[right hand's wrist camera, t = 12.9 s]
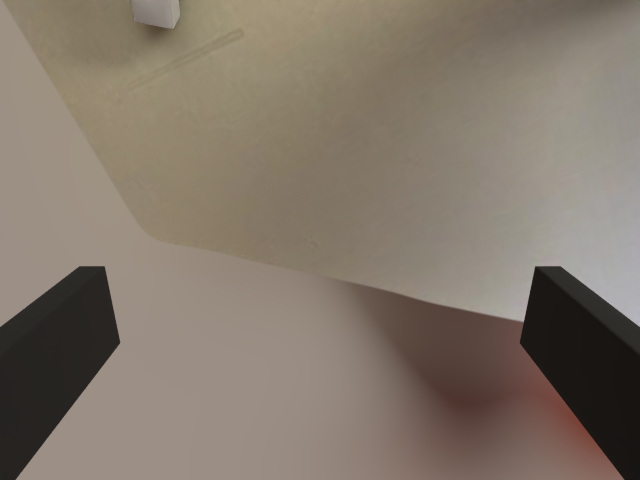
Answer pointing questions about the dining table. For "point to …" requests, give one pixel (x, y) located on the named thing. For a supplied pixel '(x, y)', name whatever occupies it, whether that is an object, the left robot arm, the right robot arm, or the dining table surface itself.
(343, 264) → the dining table surface
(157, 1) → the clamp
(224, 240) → the dining table surface
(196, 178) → the dining table surface
